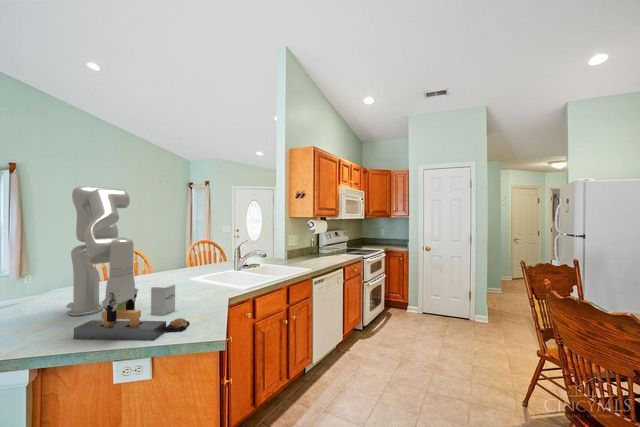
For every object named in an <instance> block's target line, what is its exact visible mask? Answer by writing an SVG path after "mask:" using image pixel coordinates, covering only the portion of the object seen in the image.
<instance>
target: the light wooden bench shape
mask: <svg viewBox="0 0 640 427" xmlns="http://www.w3.org/2000/svg"><path fill="white" fill-rule="evenodd" d="M141 312H142V310H140V309H139V310H138V309H135V310H117V320H129V321H130V327H137V326H139V321H140V318H141V316H142V313H141ZM101 320H102V321H103V327H110V326H112V325H113V322H107V311H105V310H104V311H101Z"/></svg>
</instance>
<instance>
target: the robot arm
mask: <svg viewBox="0 0 640 427" xmlns="http://www.w3.org/2000/svg"><path fill="white" fill-rule="evenodd" d="M71 196H72V197H71V198H72V203H73V205H74V208H75V210H76V229H75V233H76V235H75V236H76V240H78V242H80V243H81V242H82V243H84V244H81V245H78V246H75V247H73V248H72V250H71V252H70V257H71V263H72V270H73V273H72V274H73V276H72V277H73V278H72V280H73V286H72V287H73V288H72V289H73V292H72V293H73V299H72V300H73V301H72V302H69V303H68V304H66V308H67V309H70V310H69V312H68V315H70V316H72V317H77V316H86V315H87V316H88V315H91V314H96V313H99V312H102V310H104V311H107V322H116V321H118V319H117V310H115V309H116V307H117V305H118V304H120V303H123V302H125V301H127V302H126V310H136V309H135V306H136V305H135V304H136V301H137V297H138V291H139V288H137V287H136V286H135V285H136V283H135V276H134V250H135V249H134V246H135V245H134V241H133V240H132V239H129V238H127V237H119V228H118V226H117V224H116V223H118V221H119V220H120V216H119V212H118V209H126V208H128V207H129V205H130V200H131V199H130V195H129V194H128V192H127V191H126V190H125V189H121V188H117V187H116V188H115V187H103V186H102V187H101V186H88V185H87V186H85V185H84V186H83V185H82V186H81V185H80V186H76V187H75V188H73V190H72V193H71ZM107 263H108V264H109V267H108V268H109V271H108V272H109V277H108V278H107V281H106V286H105V297H104V299H103V300H102V301H101V303H102V305H100V272H99V271H98V269H97V268H95V266H93V265H98V264H107ZM111 305H113V307H112V306H111Z"/></svg>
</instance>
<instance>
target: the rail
mask: <svg viewBox="0 0 640 427" xmlns="http://www.w3.org/2000/svg"><path fill="white" fill-rule="evenodd" d="M166 327H167V321H166V320H139V326H137V327H130V320H116V322H113V325H112V326H110V327H103V319H101V320H89V321H86V322H85V323H83V324H81V325H78V326H75V327H73V340H101V341H103V340H105V341H106V340H107V341H110V340H111V341H118V340H119V341H129V340H130V341H155V340H156V339H158V338H159V337H161V335H163V334H164V333H166Z"/></svg>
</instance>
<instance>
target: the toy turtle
mask: <svg viewBox="0 0 640 427" xmlns="http://www.w3.org/2000/svg"><path fill="white" fill-rule="evenodd" d="M189 326H190V321H189V320H187V319H185V318H175V319H173V320H171V321H170V322H169V324H167V325H166V332H165V333H166V334H169V333H181V332H183V331H186V330H187V329H188V327H189Z"/></svg>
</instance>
